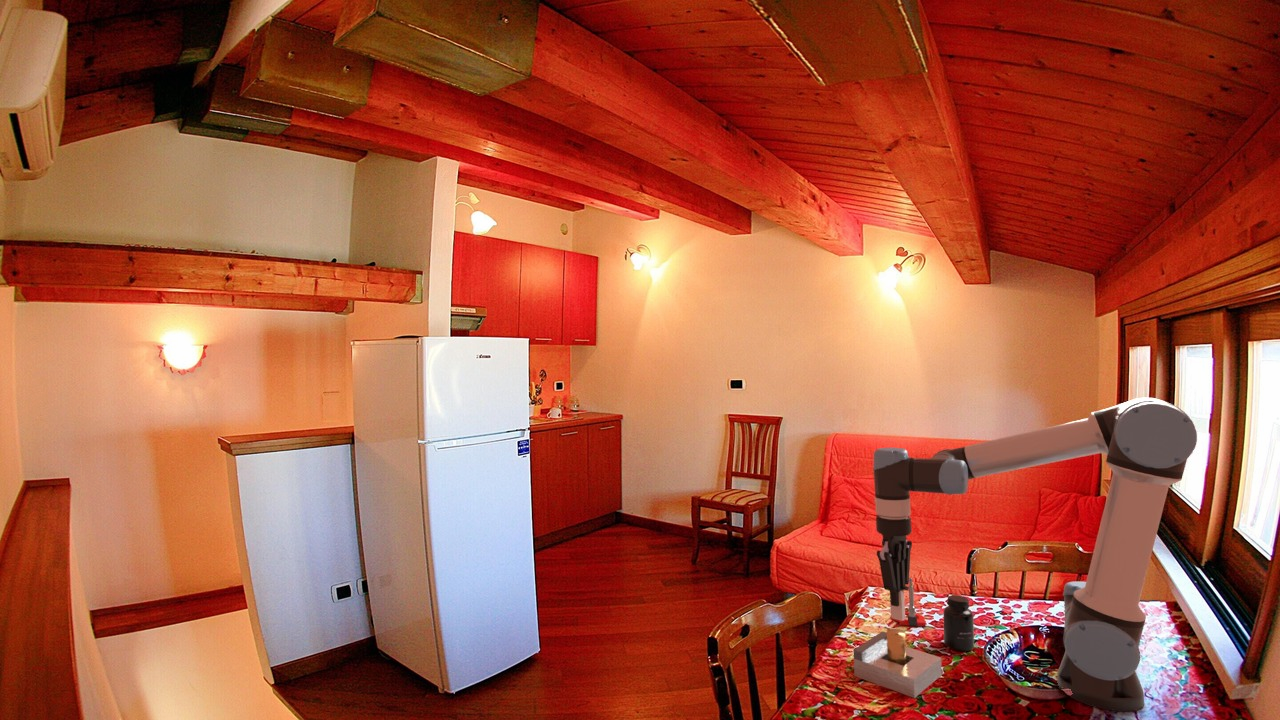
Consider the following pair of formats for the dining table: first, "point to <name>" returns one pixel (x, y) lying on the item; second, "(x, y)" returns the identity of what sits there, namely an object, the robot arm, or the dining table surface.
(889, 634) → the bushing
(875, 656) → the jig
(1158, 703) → the dining table surface
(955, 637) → the supplement bottle
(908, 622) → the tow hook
